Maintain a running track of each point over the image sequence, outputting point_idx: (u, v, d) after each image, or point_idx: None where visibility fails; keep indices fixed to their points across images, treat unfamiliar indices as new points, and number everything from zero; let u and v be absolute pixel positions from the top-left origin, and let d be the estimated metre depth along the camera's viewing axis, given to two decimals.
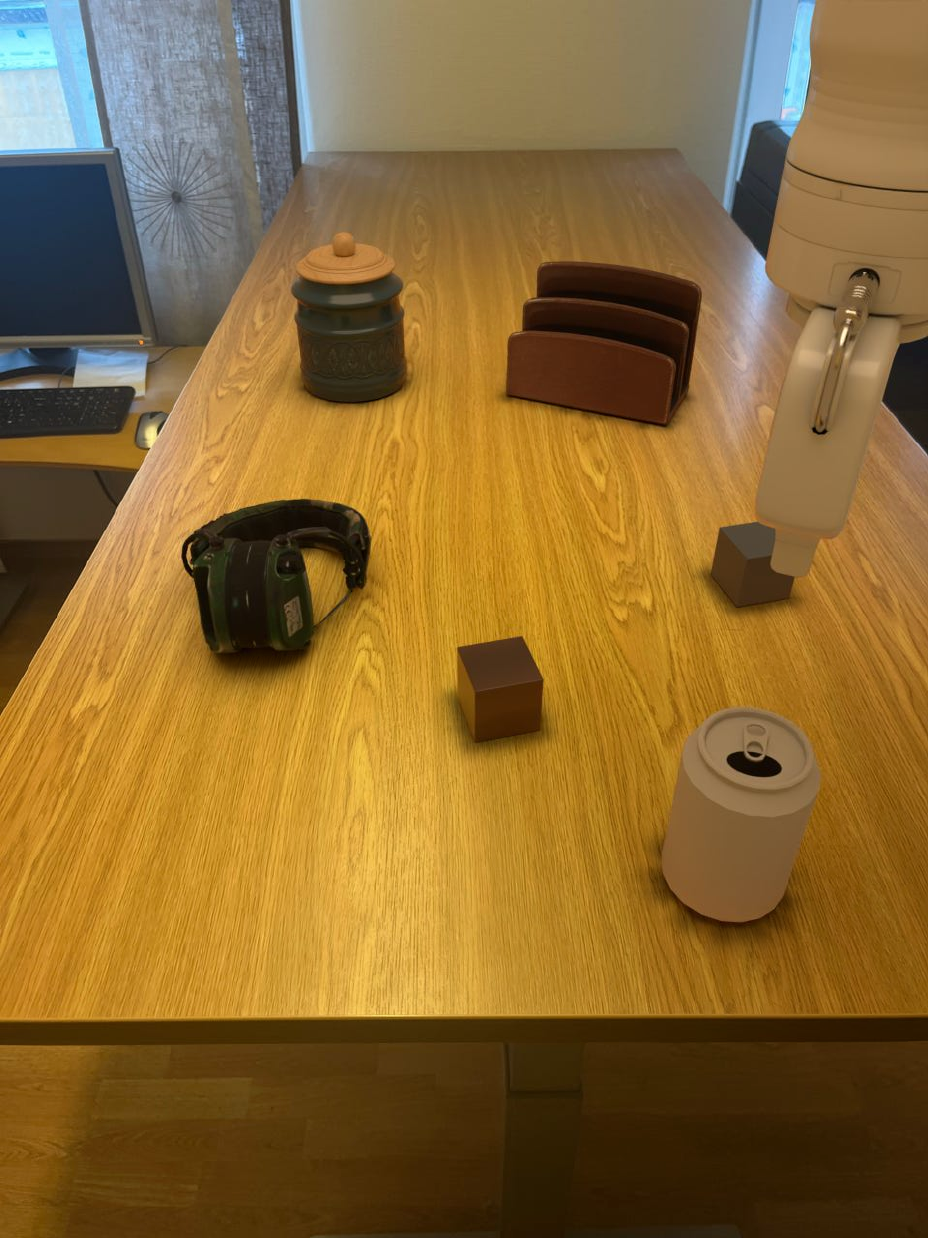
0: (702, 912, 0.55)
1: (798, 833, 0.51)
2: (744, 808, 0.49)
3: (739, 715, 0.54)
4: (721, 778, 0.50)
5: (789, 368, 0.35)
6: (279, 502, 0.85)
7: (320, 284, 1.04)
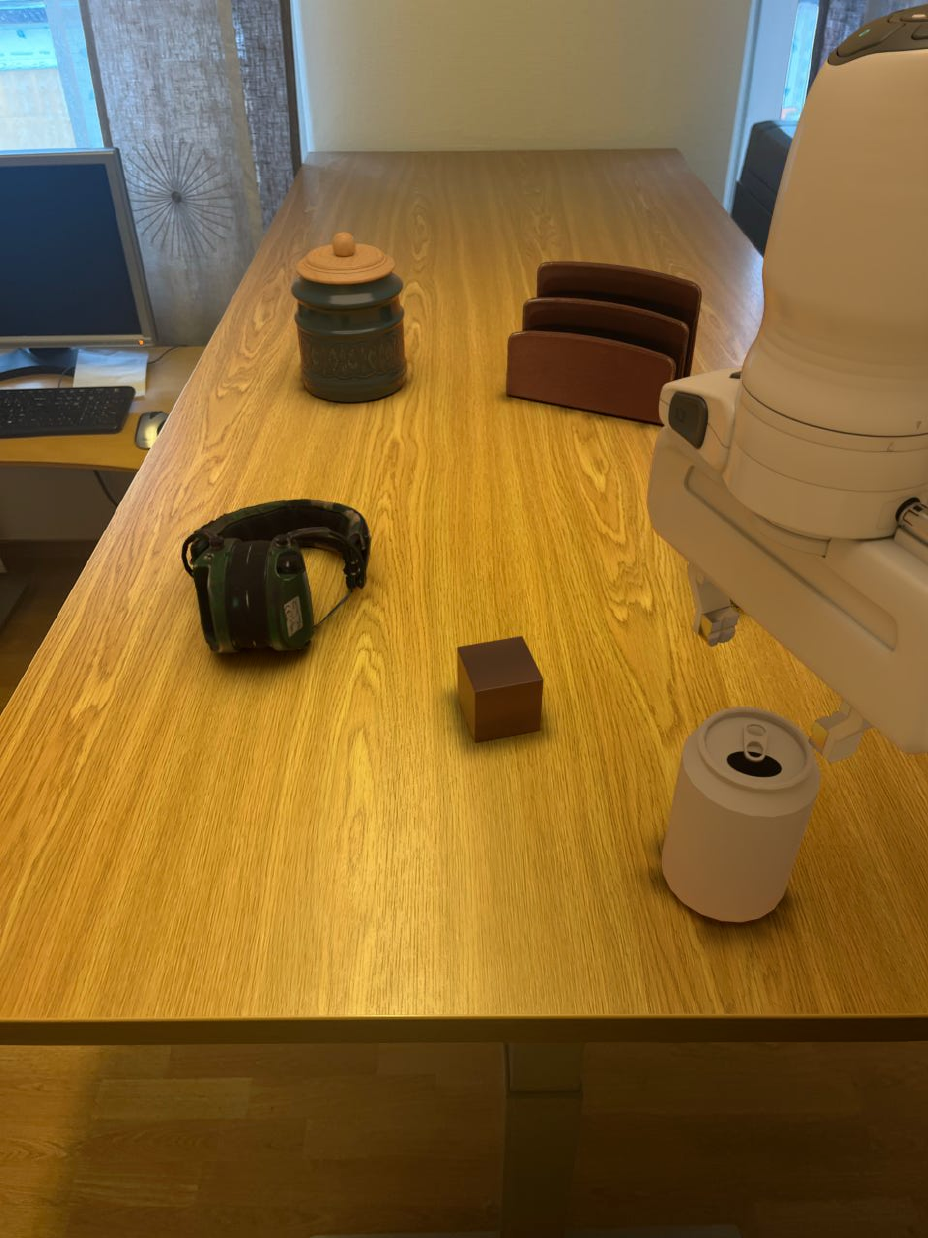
0: (702, 912, 0.55)
1: (798, 833, 0.51)
2: (744, 808, 0.49)
3: (739, 715, 0.54)
4: (721, 778, 0.50)
5: None
6: (279, 502, 0.85)
7: (320, 284, 1.04)
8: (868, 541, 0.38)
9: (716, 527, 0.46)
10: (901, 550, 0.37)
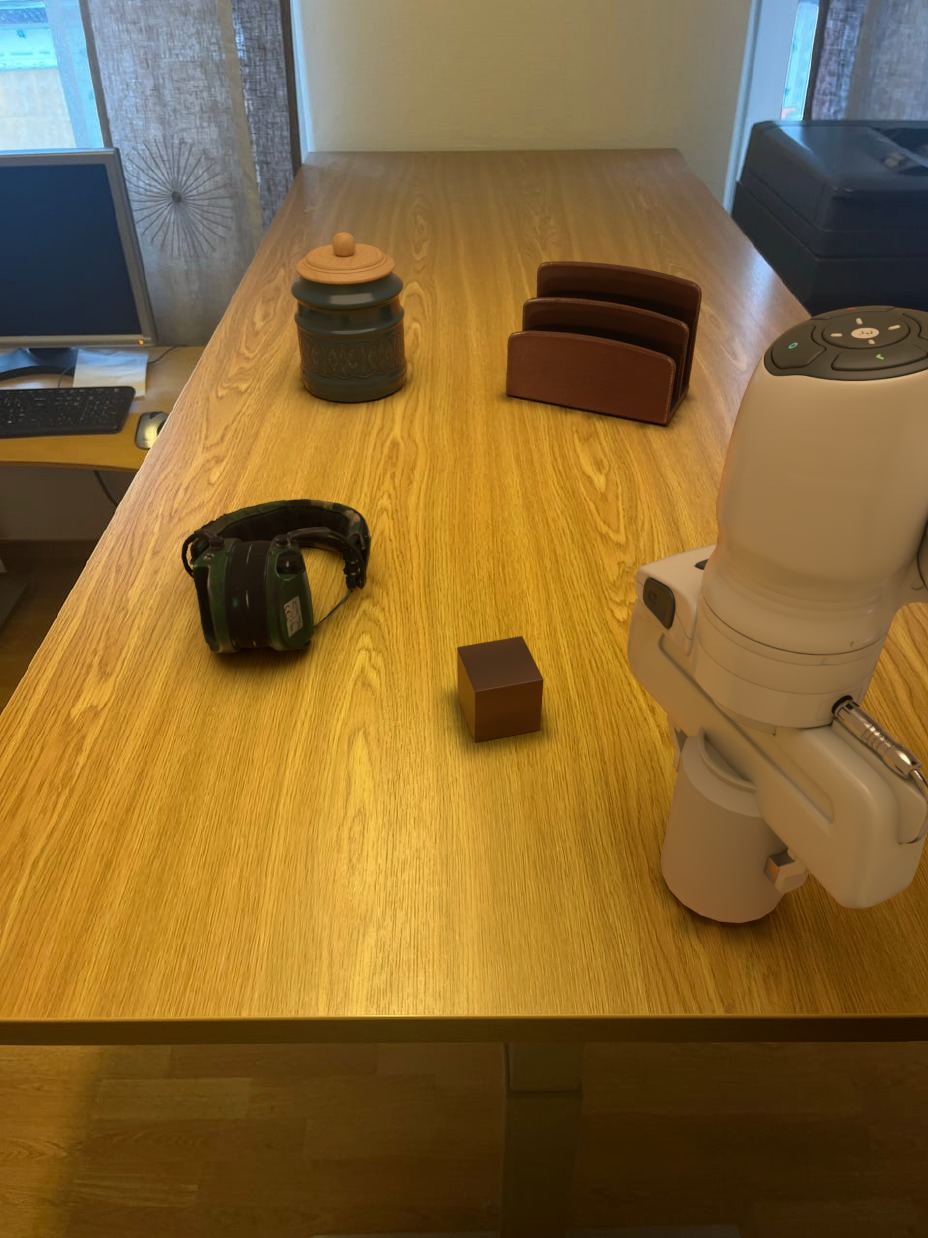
0: (701, 913, 0.55)
1: None
2: (743, 809, 0.49)
3: None
4: (721, 779, 0.50)
5: (873, 813, 0.42)
6: (279, 502, 0.85)
7: (320, 284, 1.04)
8: (809, 729, 0.45)
9: (685, 687, 0.53)
10: (836, 739, 0.44)
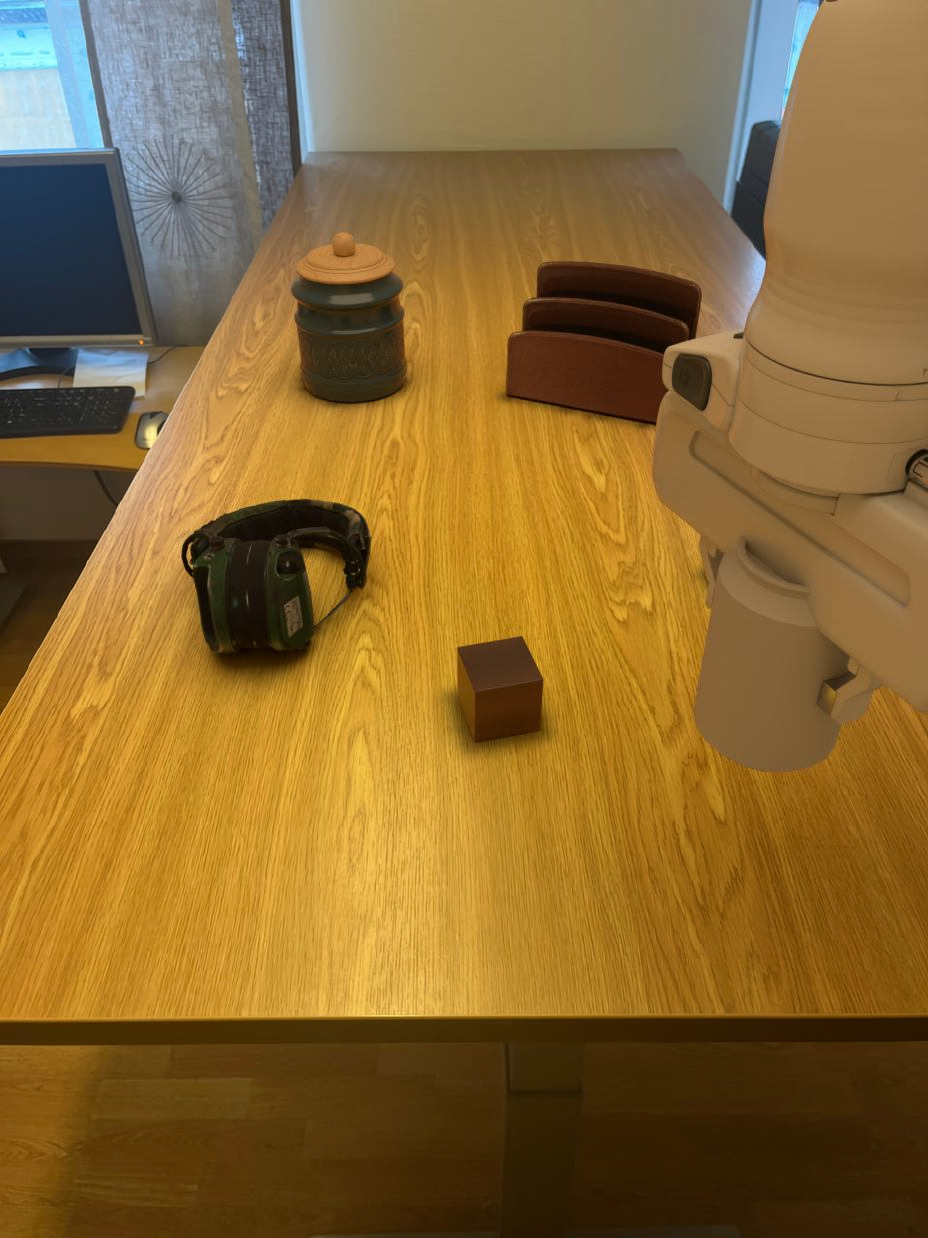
0: (743, 762, 0.48)
1: None
2: (795, 618, 0.42)
3: None
4: (767, 586, 0.43)
5: None
6: (279, 502, 0.85)
7: (320, 284, 1.04)
8: (878, 496, 0.37)
9: (722, 492, 0.46)
10: (912, 503, 0.37)
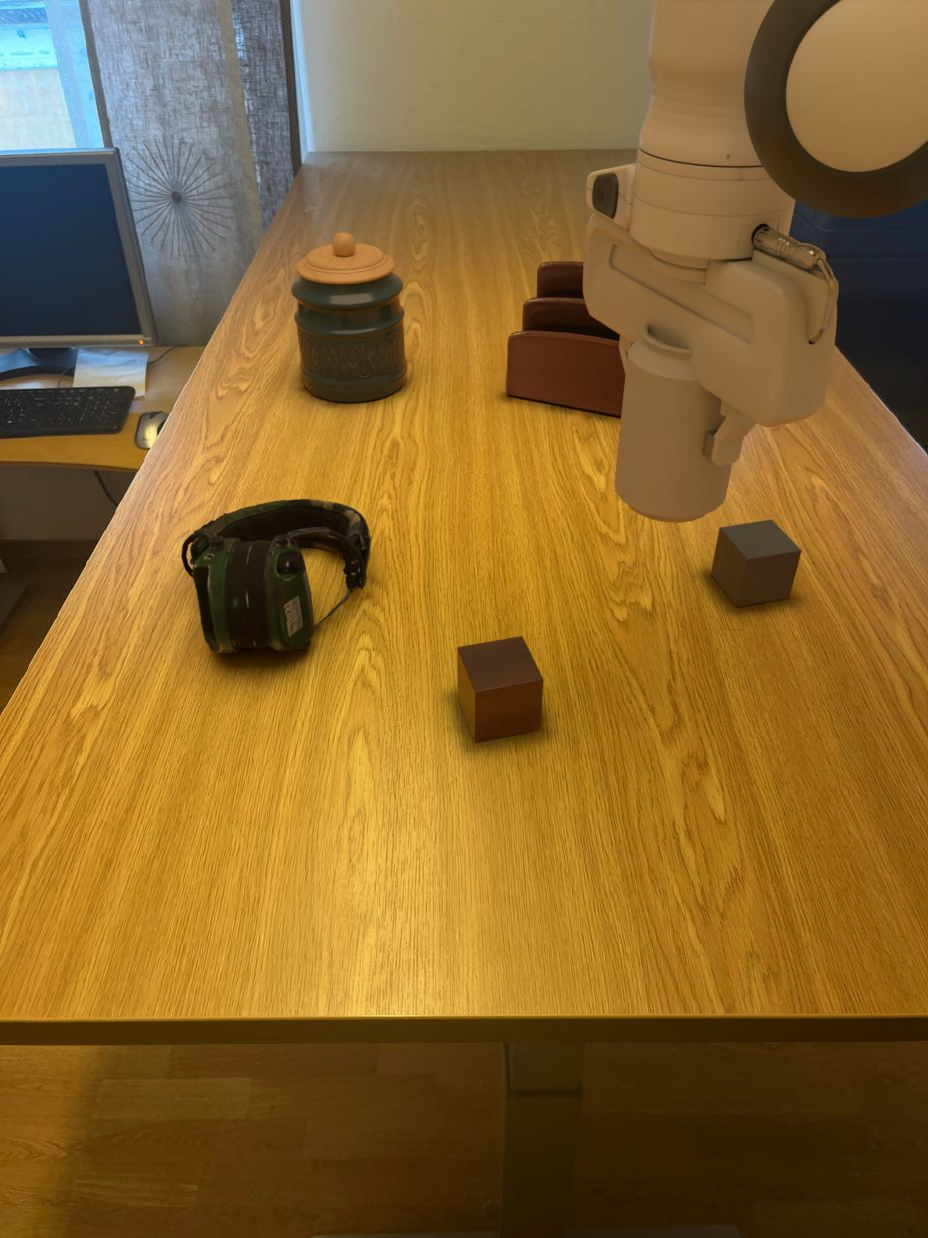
0: (649, 511, 0.61)
1: None
2: (680, 374, 0.55)
3: None
4: (660, 352, 0.56)
5: (784, 305, 0.47)
6: (279, 502, 0.85)
7: (320, 284, 1.04)
8: (733, 261, 0.50)
9: (632, 290, 0.59)
10: (756, 265, 0.50)
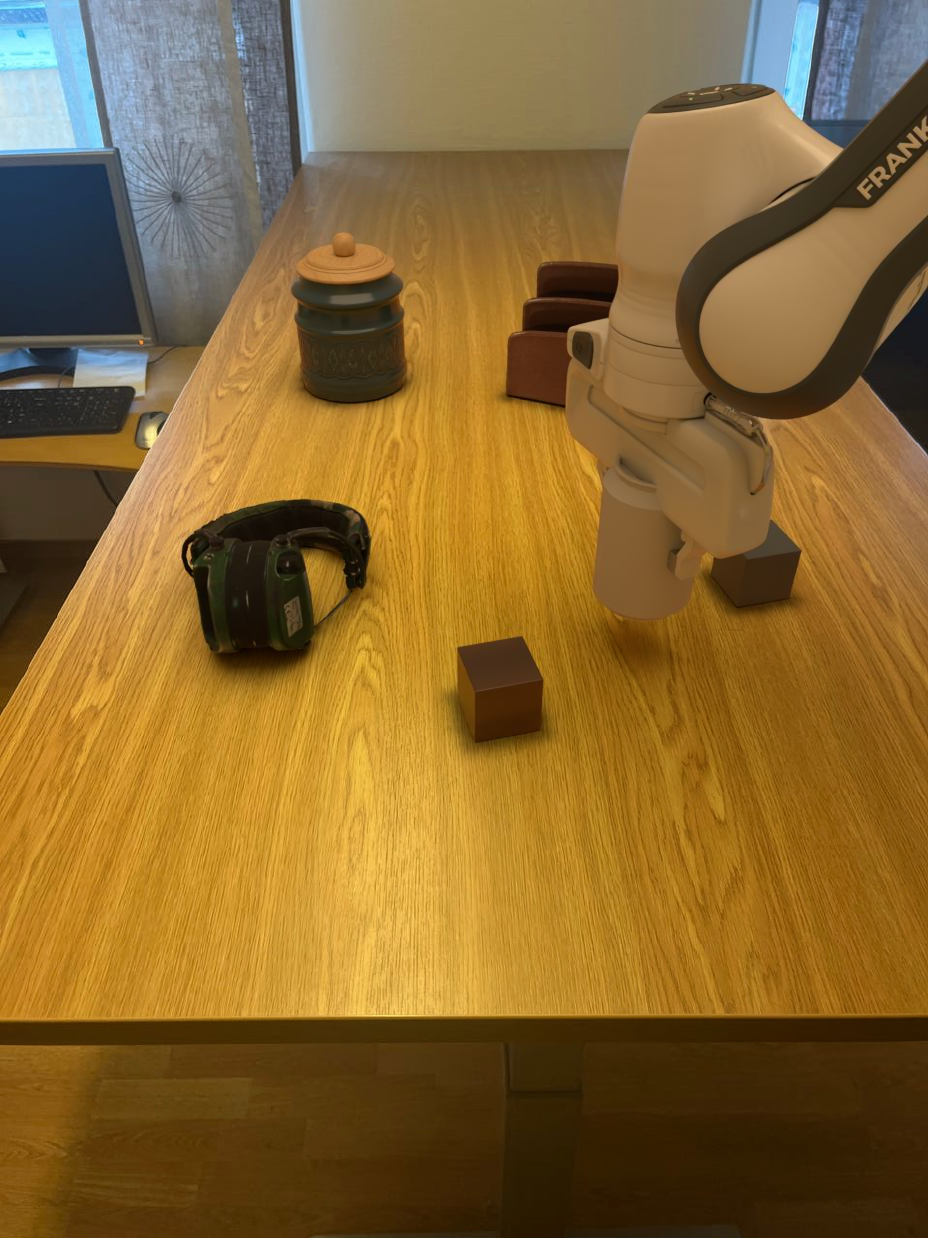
0: (622, 612, 0.70)
1: None
2: (647, 505, 0.64)
3: None
4: (630, 484, 0.65)
5: (728, 465, 0.56)
6: (279, 502, 0.85)
7: (320, 284, 1.04)
8: (688, 420, 0.59)
9: (607, 425, 0.68)
10: (707, 424, 0.59)
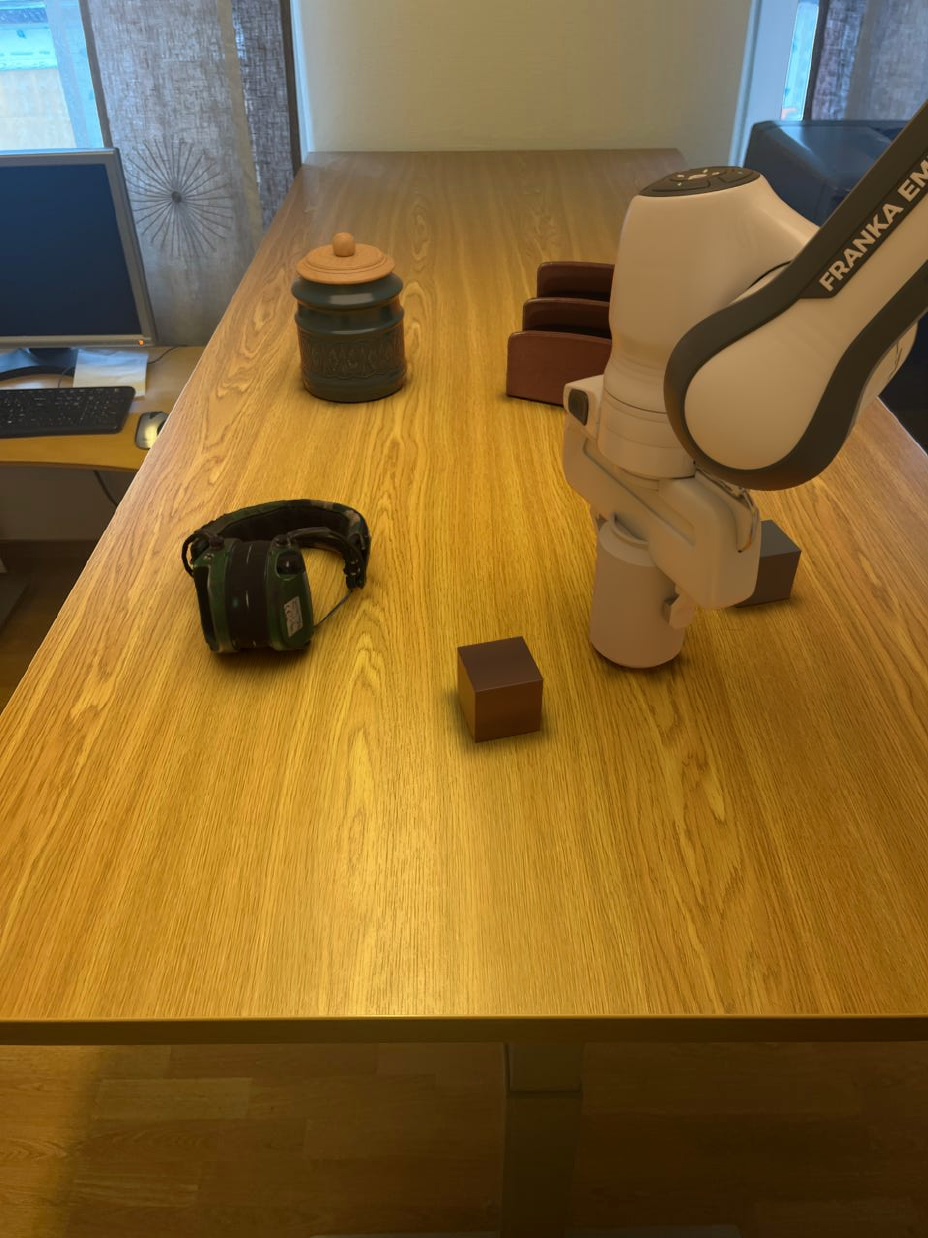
0: (617, 660, 0.73)
1: None
2: (640, 561, 0.67)
3: None
4: (624, 541, 0.68)
5: (717, 525, 0.59)
6: (279, 502, 0.85)
7: (320, 284, 1.04)
8: (679, 479, 0.62)
9: (602, 477, 0.70)
10: (697, 483, 0.62)
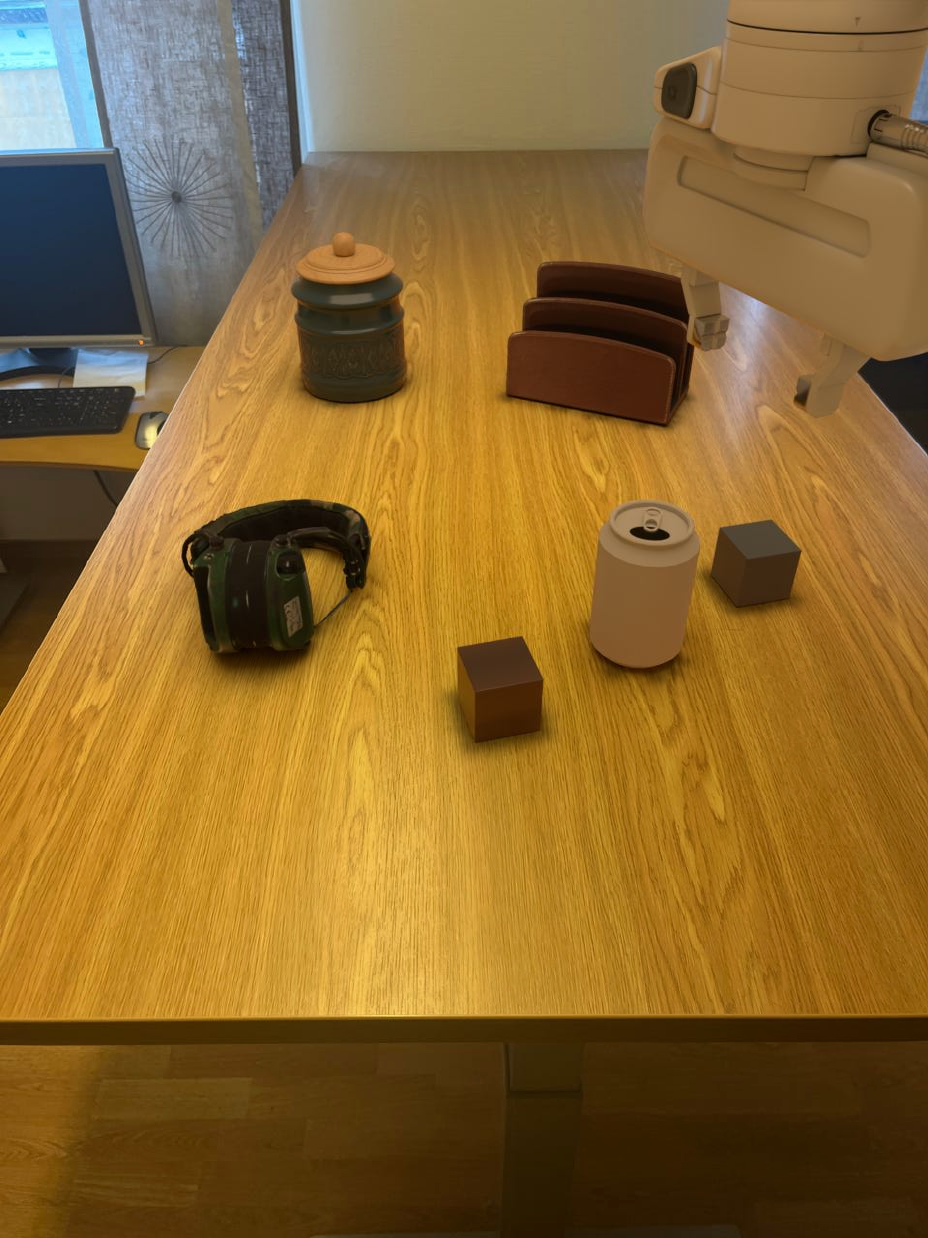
0: (617, 660, 0.73)
1: (683, 587, 0.69)
2: (640, 561, 0.67)
3: (643, 506, 0.71)
4: (624, 541, 0.68)
5: (914, 204, 0.38)
6: (279, 502, 0.85)
7: (320, 284, 1.04)
8: (843, 158, 0.41)
9: (706, 209, 0.50)
10: (873, 161, 0.41)
